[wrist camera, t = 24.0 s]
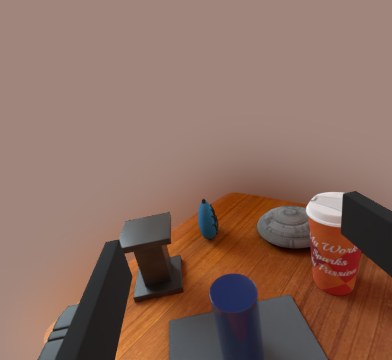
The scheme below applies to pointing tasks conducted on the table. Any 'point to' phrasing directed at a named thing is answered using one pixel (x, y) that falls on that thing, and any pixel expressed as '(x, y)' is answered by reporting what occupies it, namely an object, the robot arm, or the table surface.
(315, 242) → the coffee cup
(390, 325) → the table surface
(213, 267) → the table surface
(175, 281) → the stand
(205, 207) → the ornament
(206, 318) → the mat
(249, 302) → the canister
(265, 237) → the flying saucer
